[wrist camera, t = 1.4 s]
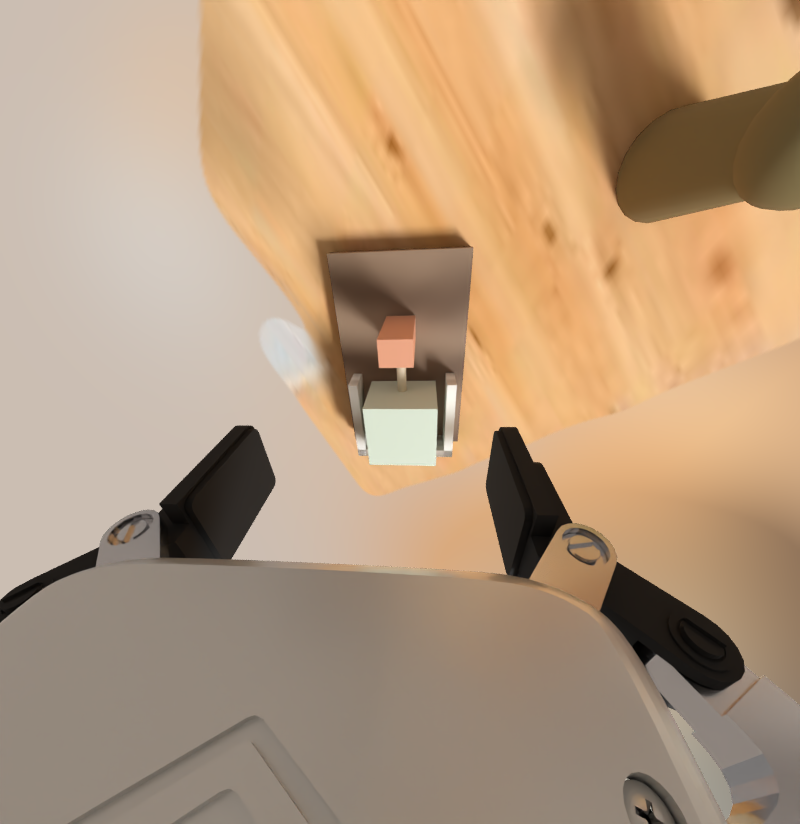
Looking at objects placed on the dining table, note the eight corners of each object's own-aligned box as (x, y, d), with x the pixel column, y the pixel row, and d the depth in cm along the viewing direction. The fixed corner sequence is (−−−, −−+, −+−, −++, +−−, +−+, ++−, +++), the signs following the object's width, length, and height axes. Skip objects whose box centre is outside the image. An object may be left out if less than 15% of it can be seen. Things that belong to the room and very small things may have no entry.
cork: (596, 187, 20) (743, 154, 11) (685, 77, 17) (989, -95, 8) (651, 241, 22) (822, 253, 12) (742, 149, 19) (1055, 75, 9)
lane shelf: (331, 252, 23) (316, 256, 20) (470, 246, 22) (478, 250, 19) (358, 432, 33) (351, 455, 30) (456, 432, 32) (459, 456, 29)
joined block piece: (365, 316, 24) (349, 340, 19) (437, 314, 24) (440, 338, 19) (377, 432, 31) (368, 472, 26) (434, 432, 30) (436, 473, 25)
